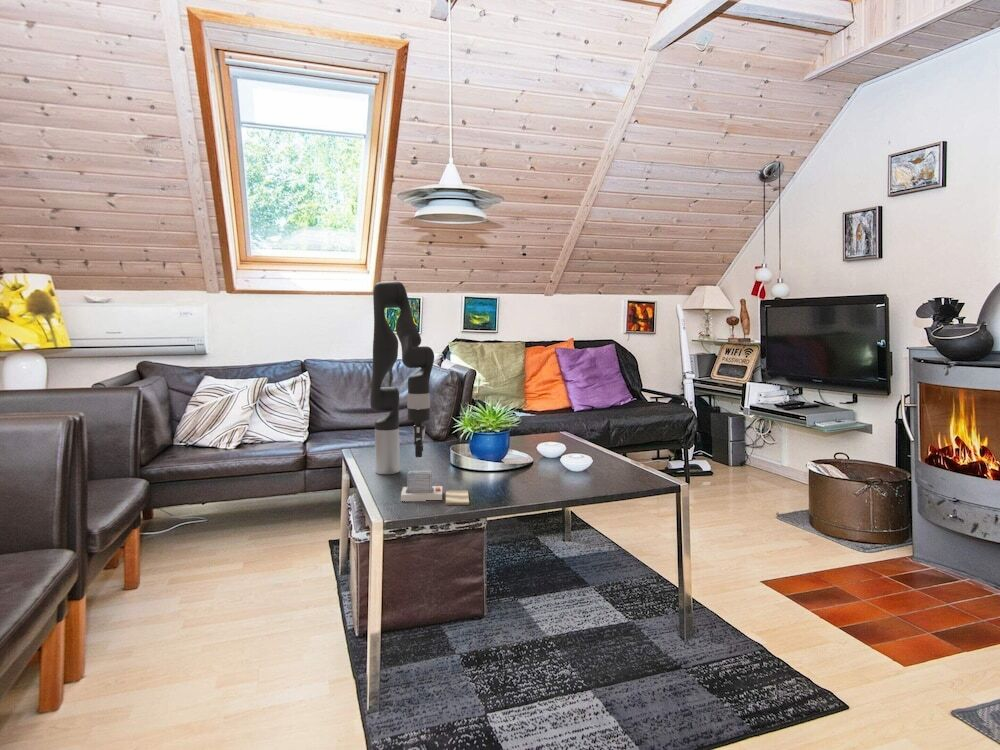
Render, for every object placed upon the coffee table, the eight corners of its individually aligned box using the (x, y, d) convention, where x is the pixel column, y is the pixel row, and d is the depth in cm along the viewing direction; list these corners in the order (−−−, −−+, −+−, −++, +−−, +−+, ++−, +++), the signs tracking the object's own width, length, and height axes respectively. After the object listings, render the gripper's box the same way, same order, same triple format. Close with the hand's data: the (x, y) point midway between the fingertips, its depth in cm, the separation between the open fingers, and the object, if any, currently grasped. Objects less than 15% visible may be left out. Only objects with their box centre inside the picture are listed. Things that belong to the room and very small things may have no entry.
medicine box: (432, 495, 221) (432, 470, 220) (430, 498, 216) (430, 473, 215) (409, 495, 221) (408, 470, 220) (407, 498, 216) (407, 473, 215)
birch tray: (445, 493, 223) (445, 490, 223) (467, 492, 224) (467, 490, 224) (445, 505, 209) (445, 502, 209) (469, 504, 210) (469, 502, 210)
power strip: (404, 486, 231) (404, 478, 231) (442, 485, 232) (442, 478, 232) (401, 501, 213) (400, 493, 213) (442, 500, 214) (442, 492, 214)
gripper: (408, 403, 222) (409, 450, 224) (406, 409, 208) (406, 459, 209) (430, 403, 223) (431, 449, 224) (429, 409, 209) (430, 458, 210)
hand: (419, 454), depth 217 cm, fingers open, 8 cm apart
